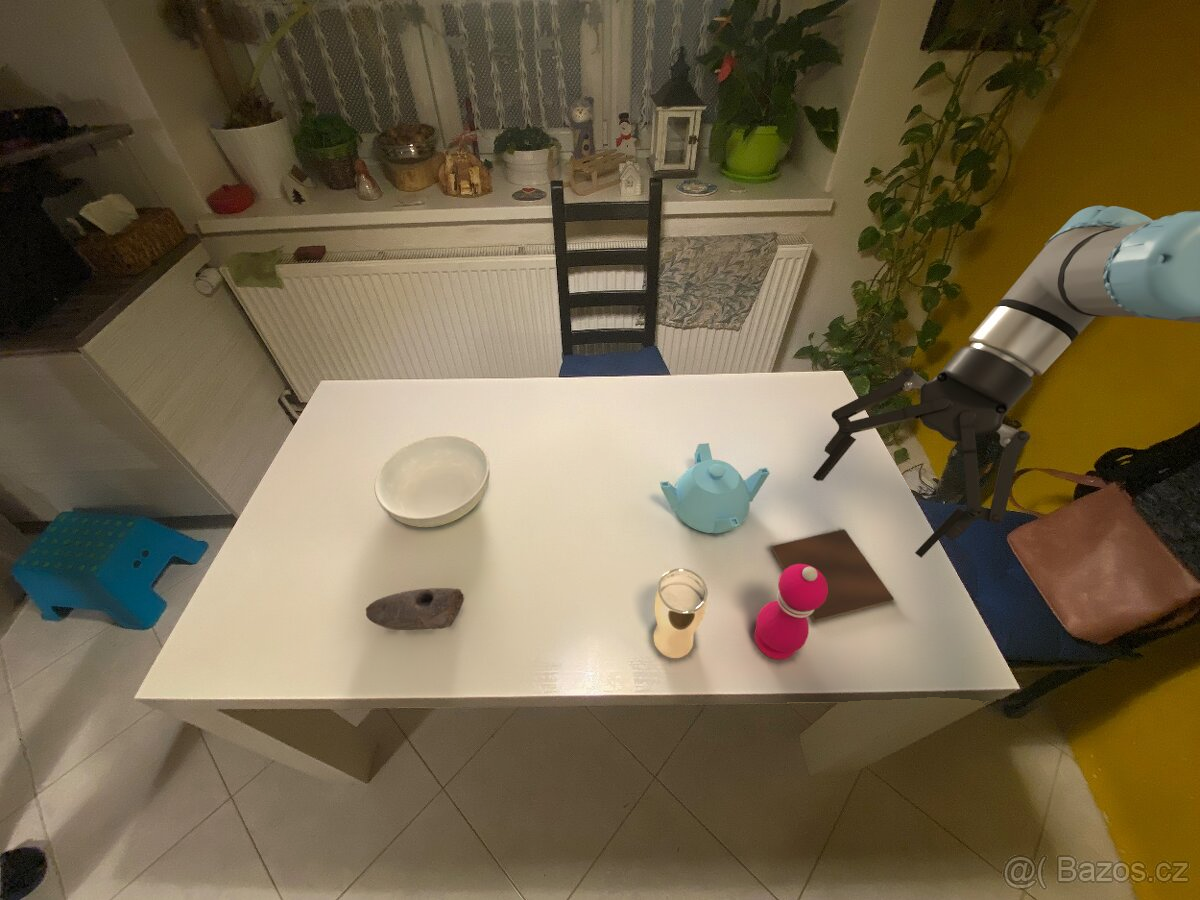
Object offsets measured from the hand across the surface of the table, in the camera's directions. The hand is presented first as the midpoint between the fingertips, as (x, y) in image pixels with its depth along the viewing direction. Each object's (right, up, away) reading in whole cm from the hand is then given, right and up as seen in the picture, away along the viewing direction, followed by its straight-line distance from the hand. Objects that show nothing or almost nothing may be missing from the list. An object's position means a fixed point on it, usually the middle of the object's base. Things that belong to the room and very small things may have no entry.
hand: (865, 514), depth 61 cm
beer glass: (-20, -21, +17) cm, 34 cm away
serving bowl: (-63, -1, +38) cm, 73 cm away
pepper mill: (-5, -21, +17) cm, 28 cm away
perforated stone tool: (-60, -19, +20) cm, 67 cm away
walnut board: (+7, -13, +24) cm, 29 cm away
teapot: (-11, -3, +35) cm, 37 cm away
